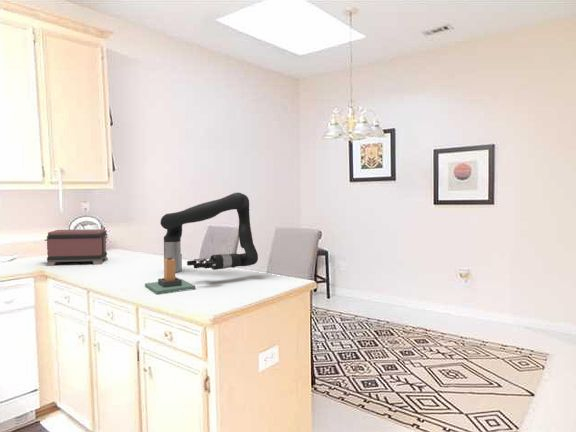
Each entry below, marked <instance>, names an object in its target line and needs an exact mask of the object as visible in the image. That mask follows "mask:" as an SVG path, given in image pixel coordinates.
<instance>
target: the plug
mask: <svg viewBox="0 0 576 432" xmlns="http://www.w3.org/2000/svg"><path fill="white" fill-rule="evenodd" d="M175 277H176V272H175V259H172V258H167V259H164V258H163V278H164V281H173V280H175Z"/></svg>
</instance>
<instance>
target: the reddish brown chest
mask: <svg viewBox="0 0 576 432" xmlns="http://www.w3.org/2000/svg"><path fill="white" fill-rule="evenodd" d="M106 236H107V233H106V229H105V228H104V229H103V228H101V229H98V228H97V229H89V228H88V229H87V228H86V229H56V230H52V231H48V232H47V236H46V239H44V240H43V241H45V242H46V246H47V247H46V248H47V249H46V250H47V257H46V261H47V262H46V265H45V266H46V267H53V266H56V265H57V264H58V263H62V262H63V263H69V262H71V263H72V262H73V263H74V262H92V263H93V265H94V266H95V265H98V266H99V265H103V264H104V262H106V261H108V259H109V258H108V256H107V255H108V252H107V244H106V243H107V240H106V239H107V237H106Z"/></svg>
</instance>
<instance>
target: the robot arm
mask: <svg viewBox="0 0 576 432" xmlns="http://www.w3.org/2000/svg"><path fill="white" fill-rule="evenodd" d="M231 210H236V212H237V215H238V231H237V232H238V233H237V234H238V239H239V244H240V245H239V246H240V247H241V249H243V251H244V253H221V254H220V253H217V254H212V255H210V258H209V259H208V258H206V257H204V258H195V259H194V260H187V261H186V266H187V267H188V266H193V269H212V271H213V270H214V271H216V270H225V269H230V268H237V267H250V266H253V265H255V264H257V262H258V260H259V254H258V251H257V249H256V246H255V245H254V239H253V233H252V228H251V218H250V216H251V215H250V199H249V197H248V196H247V195H246V194H245V193H242V192H233V193H231V194H229V195H226V196H224V197H221V198H219V199H213V200H210V201H206V202H203V203H199V204H197V205H194V206H191V207H189V208H185V209H184V210H180V211H176V212H171V213H165V214H164V215H163V216H162V217H161V219H160V222H159V223H160V226H161V227H162V228H163V229H164V230H166V234H165V235H164V236H163V260H164V259H167V258H172V259H175V273H180V272H181V271H183V263H182V262H183V259H182V258H183V255H182V251H181V250H182V248H181V246H182V245H181V242H182V241H181V239H182V235H183V225H186V224H192V223H197V222H199V223H200V222H203V221H206V220H210V219H213V218H215V217H216V216H218V215H220V214H221V213H225V212H226V211H231Z"/></svg>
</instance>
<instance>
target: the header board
mask: <svg viewBox="0 0 576 432" xmlns="http://www.w3.org/2000/svg"><path fill="white" fill-rule="evenodd" d="M144 287H145V288H146V289H148V290H149V291H151V292H153V293H154V294H155V295H163V294H162V293H164V294H169V293H168V292H171V293H174V292H173V291H178V292H180V291H179V290H185V291H187V290H186V289H192V290H196V285H194V284H192V283H190V282H189V281H187V280H184V279H183V278H178V277H176V276H175V280H173V281H164V277H163V278H158V279H157V281H155V282H146V283H144Z"/></svg>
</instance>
